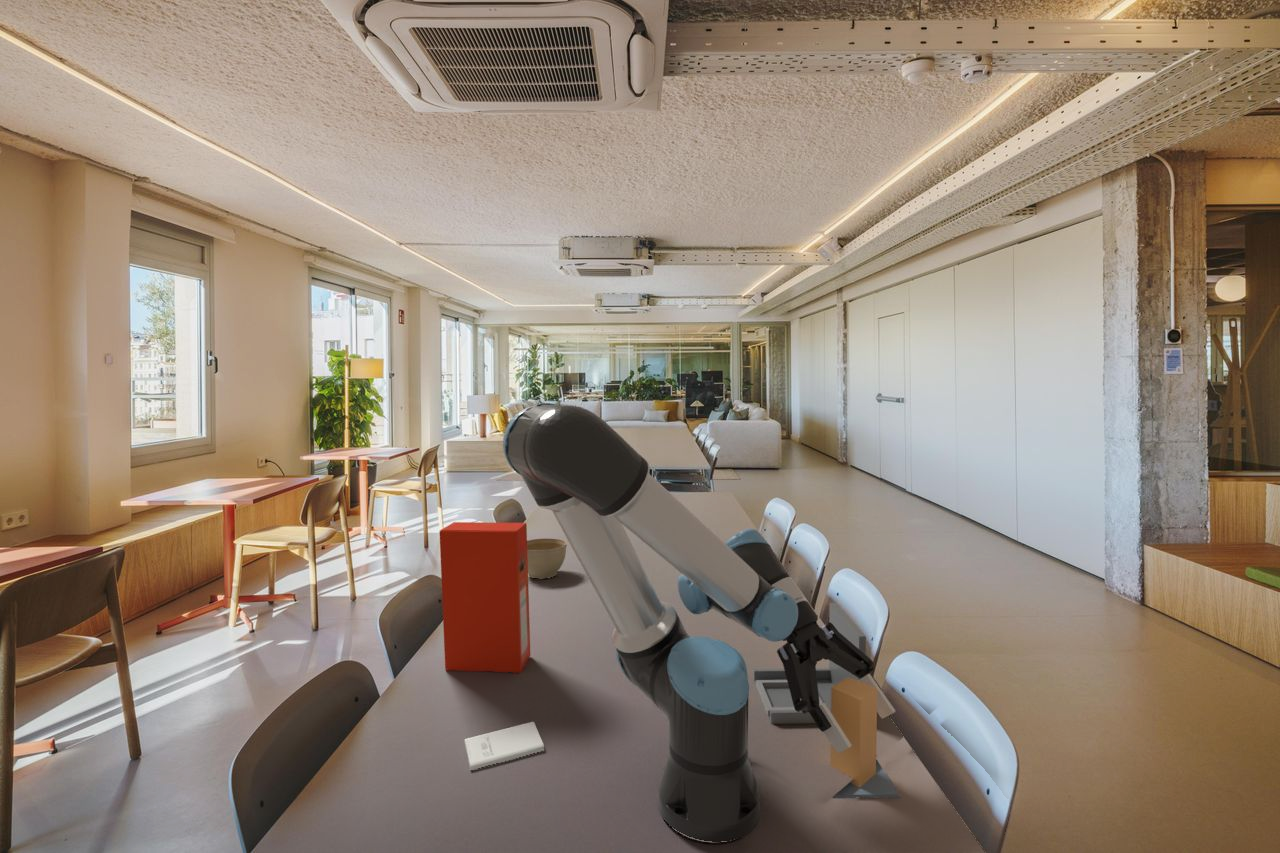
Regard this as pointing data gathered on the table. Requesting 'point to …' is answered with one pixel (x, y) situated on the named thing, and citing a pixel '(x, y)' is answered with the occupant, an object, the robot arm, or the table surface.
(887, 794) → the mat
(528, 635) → the file binder
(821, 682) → the case
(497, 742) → the external hard drive
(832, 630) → the robot arm
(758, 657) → the table surface
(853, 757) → the module
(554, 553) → the planter bowl
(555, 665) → the table surface
